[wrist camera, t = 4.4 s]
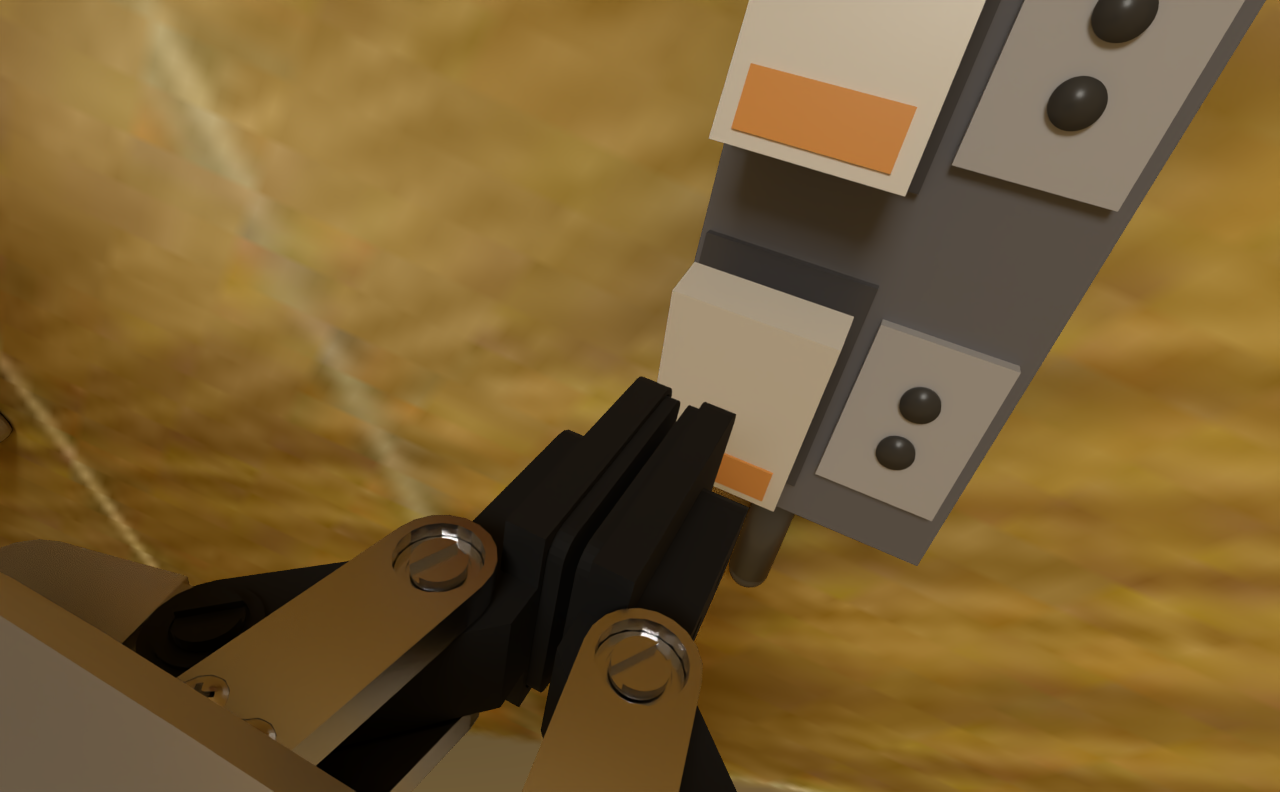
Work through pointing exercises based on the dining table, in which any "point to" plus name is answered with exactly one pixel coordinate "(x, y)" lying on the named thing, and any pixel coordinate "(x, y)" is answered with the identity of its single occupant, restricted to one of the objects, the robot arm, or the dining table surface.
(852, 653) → the dining table surface
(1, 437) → the beige slab
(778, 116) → the rocker
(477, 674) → the robot arm
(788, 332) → the block
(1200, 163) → the dining table surface
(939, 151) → the power strip
